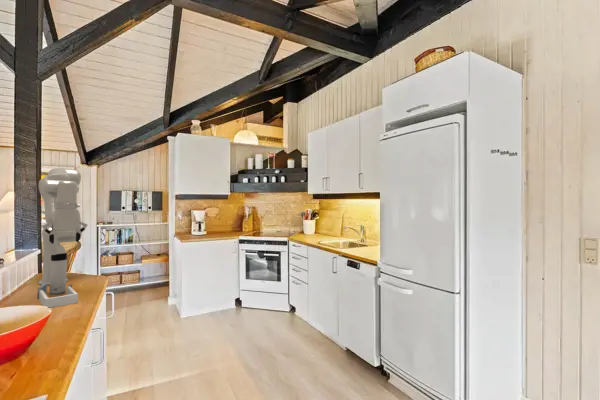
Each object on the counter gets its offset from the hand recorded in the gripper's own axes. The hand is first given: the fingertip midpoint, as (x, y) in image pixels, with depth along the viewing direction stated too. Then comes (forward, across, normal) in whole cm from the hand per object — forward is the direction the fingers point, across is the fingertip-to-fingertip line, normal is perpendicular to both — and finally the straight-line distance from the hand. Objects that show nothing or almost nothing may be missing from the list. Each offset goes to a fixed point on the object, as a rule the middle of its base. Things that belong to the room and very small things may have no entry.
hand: (64, 242), depth 145 cm
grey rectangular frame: (+26, +3, +6) cm, 27 cm away
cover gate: (+26, +7, -7) cm, 28 cm away
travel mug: (+26, +1, -7) cm, 27 cm away
